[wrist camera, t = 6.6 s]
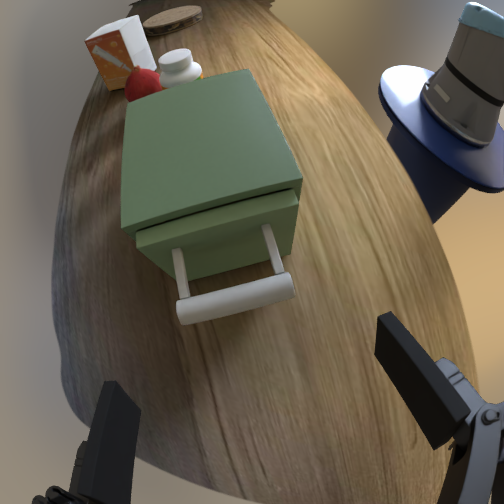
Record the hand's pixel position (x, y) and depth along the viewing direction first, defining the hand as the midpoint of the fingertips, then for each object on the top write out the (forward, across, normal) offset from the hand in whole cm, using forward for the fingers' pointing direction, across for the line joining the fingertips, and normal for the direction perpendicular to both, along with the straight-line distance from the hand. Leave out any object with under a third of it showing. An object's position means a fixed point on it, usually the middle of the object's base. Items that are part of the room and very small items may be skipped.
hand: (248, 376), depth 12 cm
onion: (+34, -7, +19) cm, 40 cm away
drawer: (+16, 0, +2) cm, 16 cm away
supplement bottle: (+31, -1, +15) cm, 35 cm away
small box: (+43, -11, +27) cm, 52 cm away
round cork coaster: (+64, -2, +48) cm, 79 cm away
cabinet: (+20, 0, +4) cm, 20 cm away
